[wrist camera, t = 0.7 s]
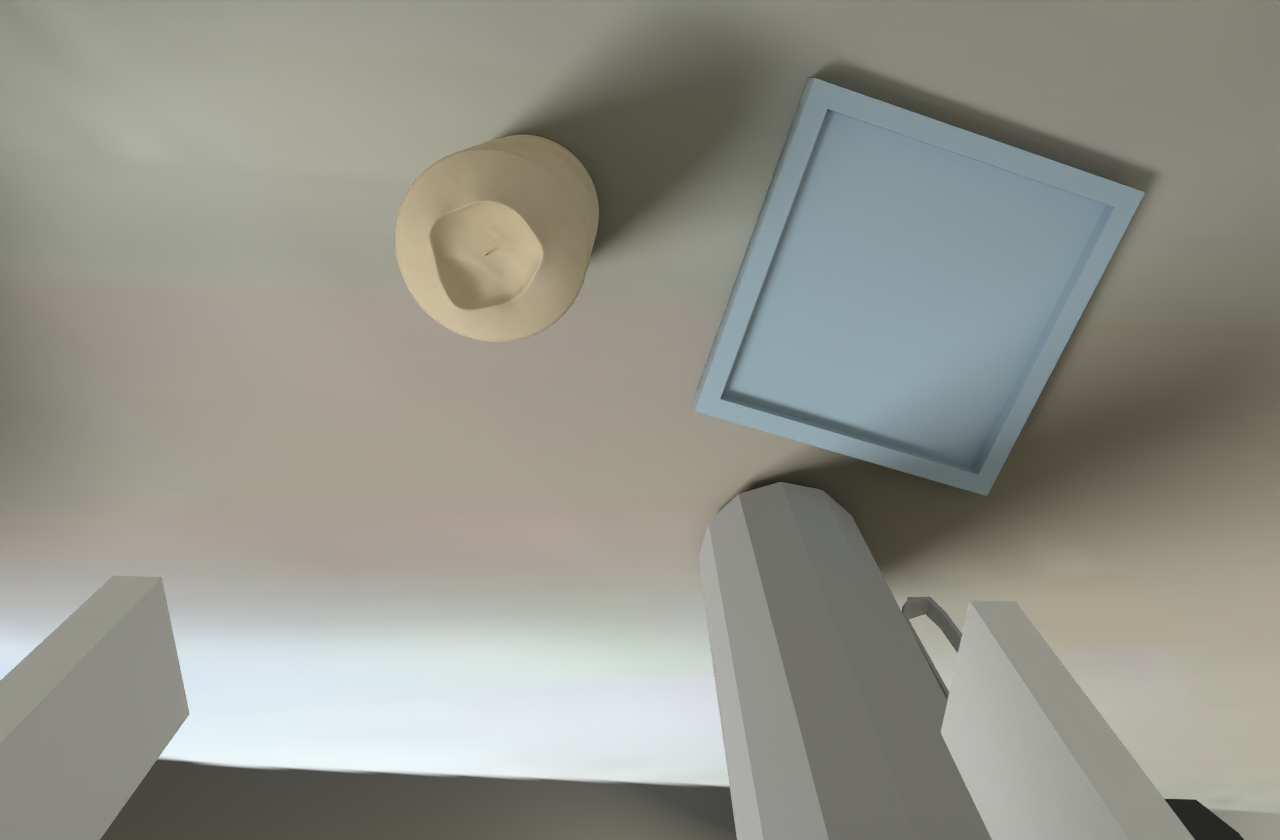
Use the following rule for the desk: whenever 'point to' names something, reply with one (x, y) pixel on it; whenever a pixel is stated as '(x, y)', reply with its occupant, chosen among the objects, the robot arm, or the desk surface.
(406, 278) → the candle
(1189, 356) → the desk surface
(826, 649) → the water bottle
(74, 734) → the robot arm
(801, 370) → the tray
